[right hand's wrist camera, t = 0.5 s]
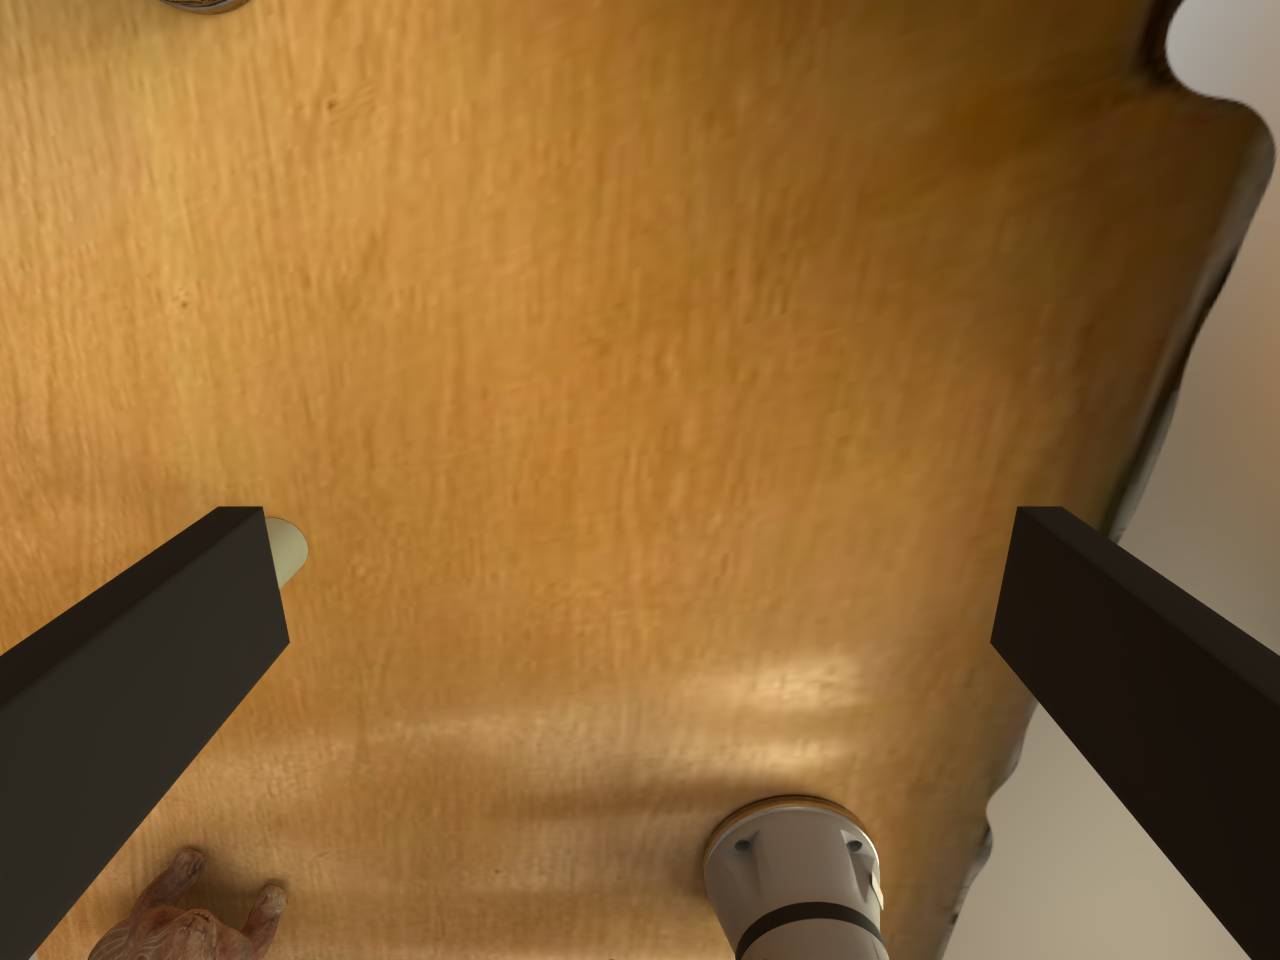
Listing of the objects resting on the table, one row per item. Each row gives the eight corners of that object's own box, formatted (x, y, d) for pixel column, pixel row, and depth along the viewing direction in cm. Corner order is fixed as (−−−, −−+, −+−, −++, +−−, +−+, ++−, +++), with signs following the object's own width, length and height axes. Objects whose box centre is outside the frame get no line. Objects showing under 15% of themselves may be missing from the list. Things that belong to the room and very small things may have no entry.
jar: (232, 535, 52) (74, 662, 37) (281, 507, 51) (138, 626, 37) (273, 582, 53) (135, 723, 39) (321, 556, 53) (199, 689, 38)
